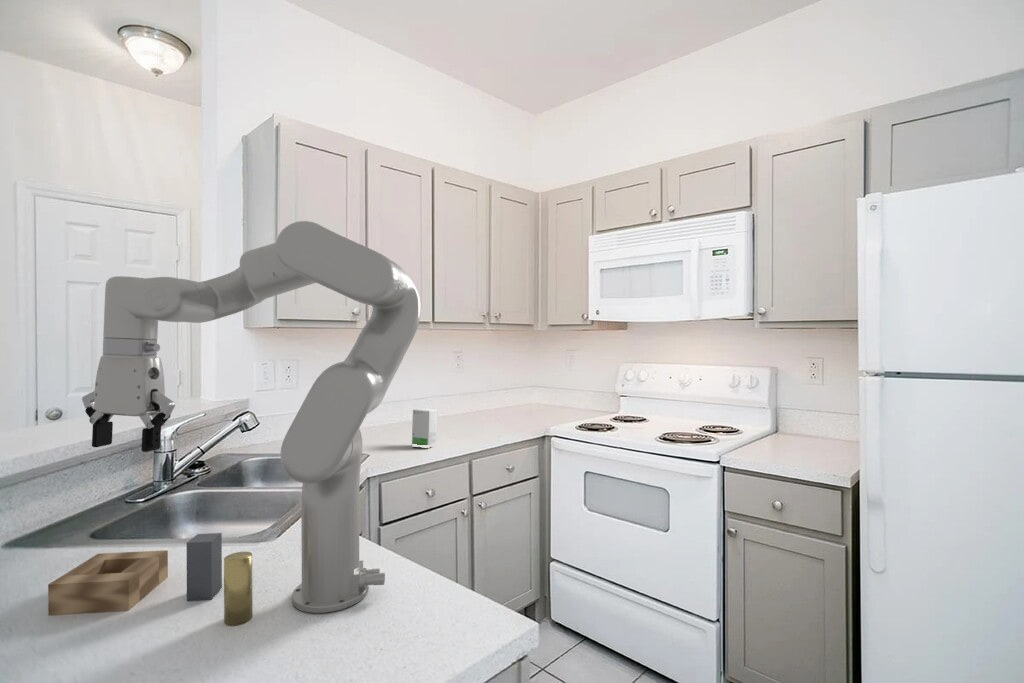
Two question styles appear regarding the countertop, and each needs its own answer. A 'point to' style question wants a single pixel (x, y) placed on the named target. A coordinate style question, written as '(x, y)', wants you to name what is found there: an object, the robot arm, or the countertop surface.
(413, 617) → the countertop surface
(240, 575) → the round bit
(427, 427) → the skincare box
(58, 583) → the bore block
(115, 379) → the robot arm
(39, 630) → the countertop surface
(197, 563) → the square bit
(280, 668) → the countertop surface
